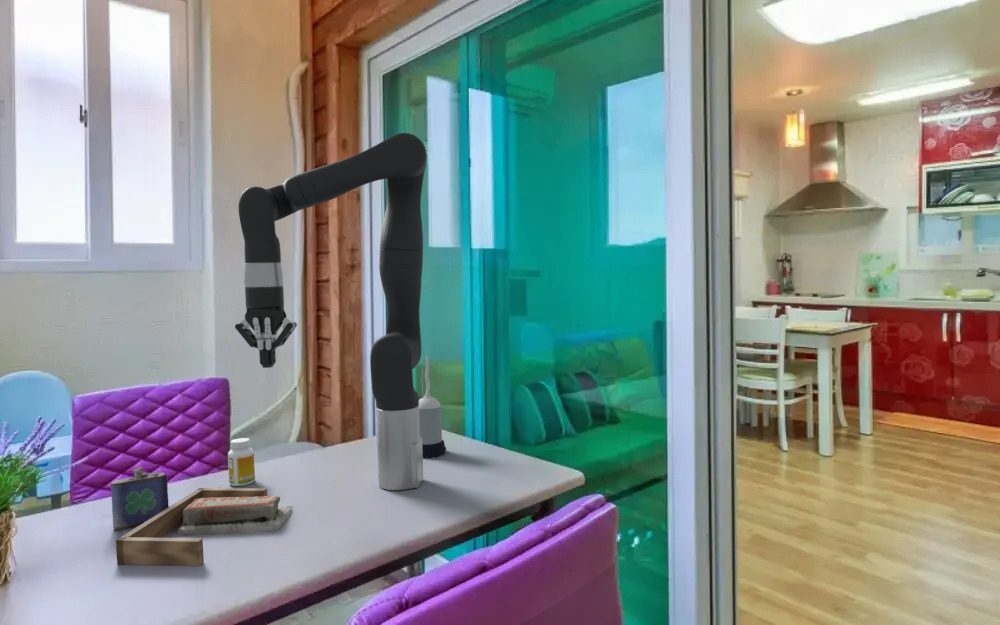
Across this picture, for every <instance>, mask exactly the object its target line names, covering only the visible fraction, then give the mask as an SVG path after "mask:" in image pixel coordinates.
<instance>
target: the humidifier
mask: <svg viewBox="0 0 1000 625" xmlns="http://www.w3.org/2000/svg"><path fill="white" fill-rule="evenodd" d="M421 372H422V376H421V377H423V376H424V378H425V384H426V386H425V387H426V389H425V394H424V389H423V386H424V385H423V383H421V387H422V388H421V389H422V392H421V393H422V394H424V395H423V396H422V398H420V399H419V428H420V437H421V438H422V451H423V459H433V458H432V457H435V458H439V457H442V456H444V455H445V454H446V451H447V447H446V444H445V441H444V440H443V439H442V438H443V433H442V429H443V428H442V427H443V426H442V407H441V405H442V404H441V403H440V402H439V401H438V399H436V398H435V397H432V396H431V393H430V390H431V382H430V378H429V375H430V356H429V355H428V356H427V355H426V356H425V374H423V372H424V371H423V370H421ZM420 380H421V382H423V378H421V379H420ZM443 454H444V455H443ZM441 455H442V456H441ZM438 456H439V457H438Z"/></svg>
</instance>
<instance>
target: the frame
mask: <svg viewBox="0 0 1000 625" xmlns="http://www.w3.org/2000/svg"><path fill="white" fill-rule="evenodd" d="M263 496H267V497H268V488H254V487H253V488H250V487H249V488H241V487H239V488H238V487H236V488H235V487H233V488H232V487H229V488H228V487H227V488H226V487H224V488H223V487H199V488H197V489H196V490H194V491H193V492H191V493H189V494H188V495H185V496H184V497H183V498H181V499H180V500H178V501H177V502H174V503H173V504H171V505H170V506H169V507H168V508H167V509H165V510H164V511H162V512H160V513H159V514H157V515H156V516H154V517H152V518H151V519H149V520H147V521H146V522H144V523H143V524H141V525H139V526H138V527H134V528H133V529H132V530H130V531H128V532H127V533H125V534H123V535H121V536H120V537H119V538H117V539H115V550H116V564H117V565H135V566H137V565H138V566H183V567H184V566H187V567H188V566H189V567H191V566H192V567H197V566H198V567H199V566H200V567H201V565H202V564H204V562H205V559H204V558H205V557H204V542H203V538H201V537H200V538H197V537H193V538H192V537H189V538H188V537H166V536H167V535H169V534H170V533H172V532H173V531H175V530H176V529H179V527H181V526H182V525H183V510H184V509H185V508H186V507H187V506H188V505H189V504H191V503H192V502H193V501H194V500H195V499H199V498H223V497H263Z"/></svg>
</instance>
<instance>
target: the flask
mask: <svg viewBox="0 0 1000 625" xmlns="http://www.w3.org/2000/svg"><path fill="white" fill-rule="evenodd" d="M142 469H143V467H142V466H138V467H136V468H134V470H133V473H134V474H133V475H134V476H133V477H126V478H123V479H117V480H113V481H112V482H110V492H111V493H110V494H111V509H112V510H111V512H112V527H113V530H114V531H119V530H120V531H124V530H128V529H131V528H133V529H135V528H136V527H138V526H139V525H141V524H143V523H144V522H146V521H147V520H149V519H151V518H152V517H154V516H156V515H157V514H159V513H160V512H162V511H164V510H165V509H167V508H168V507H170V506H169V493H168V490H169V488H168V487H169V486H168V476H167V474H166V473H164V472H157V471H152V472H145V471H143V470H142Z"/></svg>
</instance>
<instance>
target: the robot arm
mask: <svg viewBox="0 0 1000 625" xmlns="http://www.w3.org/2000/svg"><path fill="white" fill-rule="evenodd" d="M426 167H427V149H426V147H425V144H424V143H423V141H422V140H421V139H420V138H419V137H418V136H416V135H415V134H412V133H409V132H399V133H396V134H394V135H392V136H390V137H388V138H387V139H385V140H383V141H381V142H379V143H378V144H377V143H376V145H374V146H372V147H370V148H367V149H365V150H364V151H361V152H359V153H357V154H355V155H352V156H350V157H347V158H344V159H341V160H337V161H335V162H332V163H329V164H325V165H323V166H319V167H316V168H313V169H310V170H306V171H303V172H301V173H297V174H295V175H293V176H290V177H288V178H287V179H285V181H284V182H283V183H281V184H278V185H275V186H272V187H269V188H264V187H262V186H256V185H255V186H250V187H247V188H246V189H244V190H243V191H242V192H241V194H240V197H239V199H238V204H237V205H238V216H239V222H240V223H239V224H240V227H241V233H242V236H243V240H244V272H243V273H244V275H243V276H244V277H243V278H244V281H243V284H244V295H245V296H244V297H245V307H246V312H245V313H244V319H243V320H242V321H241V322H239V323H236V324H235V326H234V328H235V330H236V331H237V332H238V333H239V335H240V336H241V337H242V338H243V339H244V340H245V342H246V343H247V344H248V345H249V347H251V348H255V349H257V350H258V352H259V363H260V365H261V366H262V368H264V369H266V368H267V369H271V368H273V367H274V365H276V363H277V362H276V361H277V360H276V356H277V355H276V350H277V348H278V347H281V346H284V345H285V343H286V342H287V340H288V339H289V338H290V336H291V335H292V333H293V332H294V330H296V328H297V326H298V324H297V322H296V321H291V320H290V319H289V318H287V314H286V312H285V296H284V295H285V294H284V275H283V274H284V273H283V269H282V268H283V267H282V255H281V242H280V239H279V237H278V236H277V233H276V223H275V222H277V221H279V220H282V219H284V218H286V217H289V216H291V215H293V214H296V212H298V211H302V210H305V209H308V208H312V207H315V206H317V205H322V204H324V203H326V202H329V201H332V200H334V199H336V198H339V197H341V196H342V195H345V194H347V193H349V192H351V191H353V190H355V189H357V188H360V187H361V186H364V185H367V184H369V183H373V182H376V181H380V180H385V181H386V208H385V212H384V216H383V217H384V219H383V222H382V228H381V234H380V244H379V265H378V267H379V276H380V277H379V278H380V281H381V286H382V289H383V293H384V297H385V301H386V308H387V316H386V317H387V320H386V321H387V322H386V330H385V335H382V336H381V337H378V339H376V340H375V341H374V343H373V345H372V347H371V350H370V357H369V360H370V363H369V364H370V378H371V381H370V382H371V390H372V391H371V392H372V395H373V397H374V399H375V407H376V408H375V411H376V441H377V442H376V443H377V445H376V446H377V470H378V471H377V473H378V474H377V475H378V487H379V488H381V489H383V490H388V491H403V490H405V491H406V490H409V489H418V488H419V487H420V485H421V483H423V480H424V462H423V461H424V458H423V451H422V438H421V437H420V428H419V400H420V399H419V398H420V397H419V393H418V391H416V390H415V388H414V379H413V378H414V376H413V369H415V368H416V367H417V366H418V364H419V362H420V360H421V359H422V357H421V356H422V338H421V337H422V336H421V325H420V324H421V323H420V322H421V321H420V319H421V318H420V304H421V295H422V275H423V265H424V263H423V262H424V261H423V260H424V233H423V220H422V210H421V207H422V206H421V200H422V192H423V190H422V189H423V183H424V178H425V177H424V176H425V170H426ZM281 327H282V328H281ZM251 329H252V330H251ZM280 329H282V331H281V332H280V334H279V335H278V331H279V330H280ZM253 332H254V333H253Z"/></svg>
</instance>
